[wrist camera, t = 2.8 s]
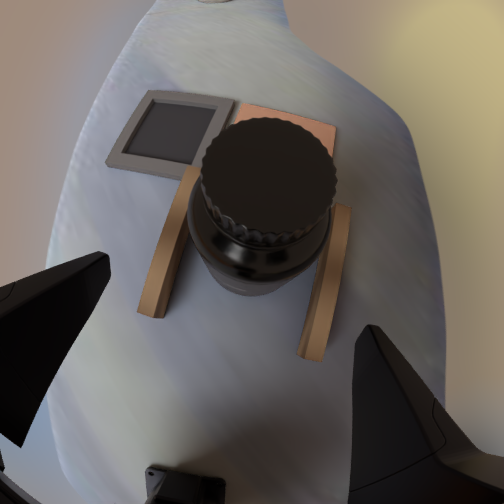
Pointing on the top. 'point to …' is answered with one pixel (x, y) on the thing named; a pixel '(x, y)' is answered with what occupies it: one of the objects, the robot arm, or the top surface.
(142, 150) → the trap pit
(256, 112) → the pad
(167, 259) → the channel
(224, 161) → the supplement bottle
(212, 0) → the supplement can
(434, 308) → the top surface
